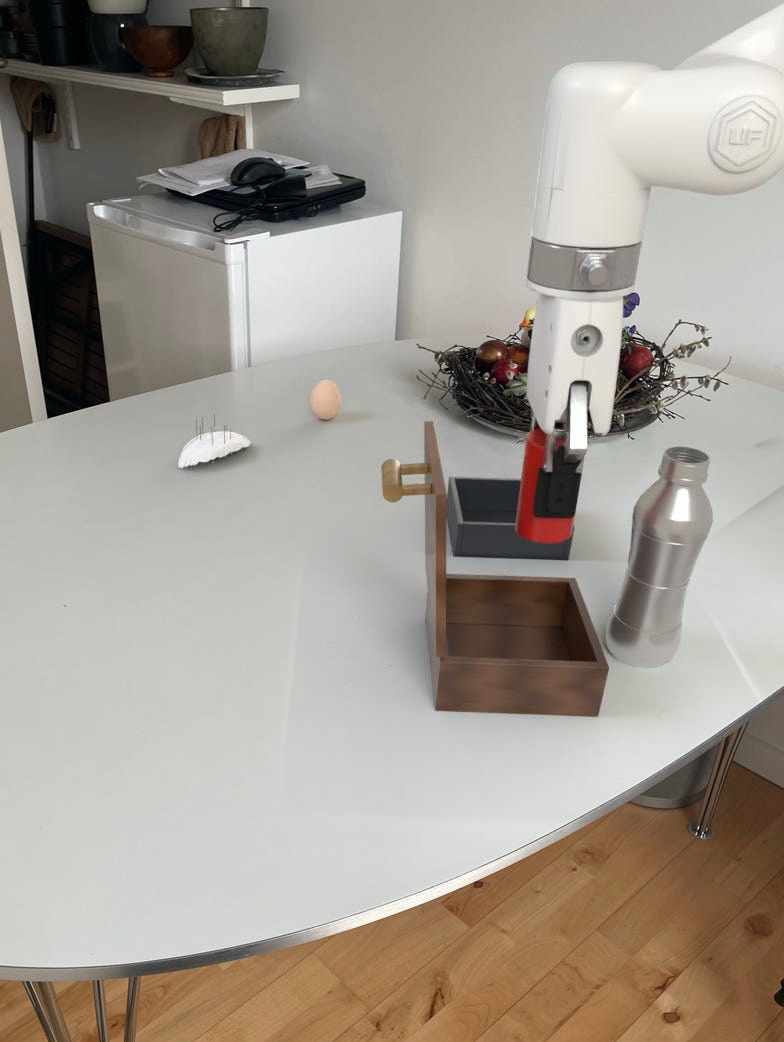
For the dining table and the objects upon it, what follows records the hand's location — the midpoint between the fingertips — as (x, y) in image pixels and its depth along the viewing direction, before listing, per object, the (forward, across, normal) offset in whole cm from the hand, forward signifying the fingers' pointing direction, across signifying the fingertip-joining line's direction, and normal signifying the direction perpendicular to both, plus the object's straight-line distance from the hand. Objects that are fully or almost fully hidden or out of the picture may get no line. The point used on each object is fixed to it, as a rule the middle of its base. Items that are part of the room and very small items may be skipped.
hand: (547, 499), depth 78 cm
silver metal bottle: (+17, +3, -11) cm, 21 cm away
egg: (+17, +62, +20) cm, 67 cm away
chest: (+17, 0, +2) cm, 17 cm away
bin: (+17, +26, -2) cm, 31 cm away
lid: (+3, 0, +8) cm, 9 cm away
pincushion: (+17, +47, +34) cm, 60 cm away
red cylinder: (+3, 0, 0) cm, 3 cm away
